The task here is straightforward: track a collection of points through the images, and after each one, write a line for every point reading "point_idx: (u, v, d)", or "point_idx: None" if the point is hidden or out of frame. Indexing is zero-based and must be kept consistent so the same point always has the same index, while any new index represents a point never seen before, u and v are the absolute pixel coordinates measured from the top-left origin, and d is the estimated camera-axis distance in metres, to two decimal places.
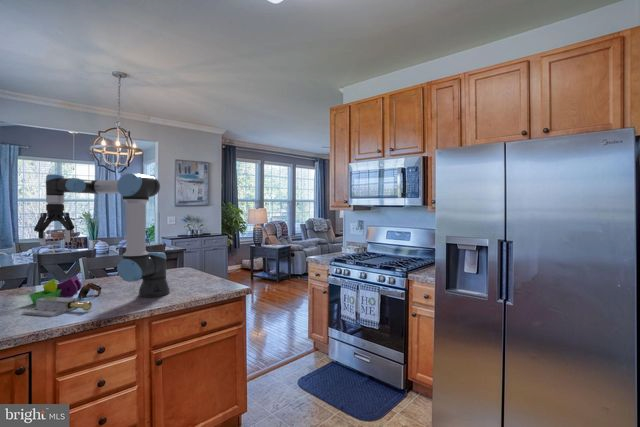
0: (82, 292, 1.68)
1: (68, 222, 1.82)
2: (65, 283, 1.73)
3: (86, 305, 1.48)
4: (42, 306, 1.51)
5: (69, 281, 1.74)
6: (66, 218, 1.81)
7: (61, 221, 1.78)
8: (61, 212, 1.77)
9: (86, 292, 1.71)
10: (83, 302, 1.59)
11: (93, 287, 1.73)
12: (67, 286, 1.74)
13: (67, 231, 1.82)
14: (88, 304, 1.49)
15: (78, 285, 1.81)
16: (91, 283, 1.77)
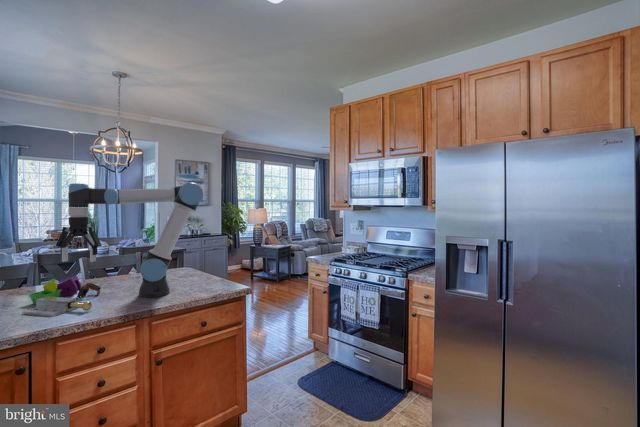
0: (81, 292, 1.68)
1: None
2: (65, 283, 1.73)
3: (86, 305, 1.48)
4: (42, 306, 1.51)
5: (69, 281, 1.74)
6: None
7: None
8: (82, 226, 1.53)
9: (85, 292, 1.71)
10: (83, 302, 1.59)
11: (92, 287, 1.73)
12: (67, 286, 1.74)
13: None
14: (88, 304, 1.49)
15: (78, 285, 1.81)
16: (90, 283, 1.78)
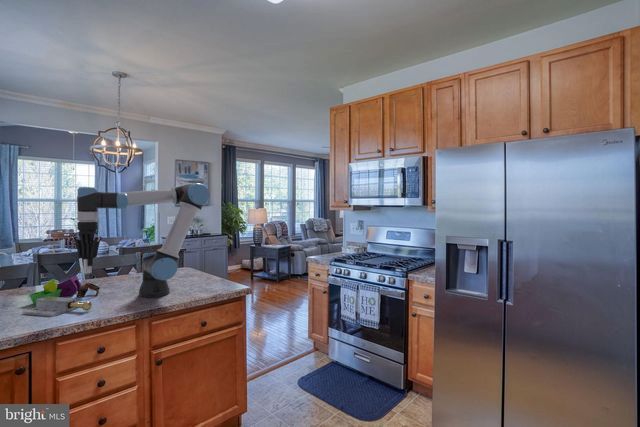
0: (80, 292, 1.68)
1: None
2: (65, 283, 1.73)
3: (86, 305, 1.48)
4: (42, 306, 1.51)
5: (69, 281, 1.74)
6: None
7: None
8: (91, 231, 1.47)
9: (84, 292, 1.71)
10: (83, 302, 1.59)
11: (91, 287, 1.73)
12: (67, 286, 1.74)
13: None
14: (88, 304, 1.49)
15: (78, 285, 1.81)
16: (89, 283, 1.78)
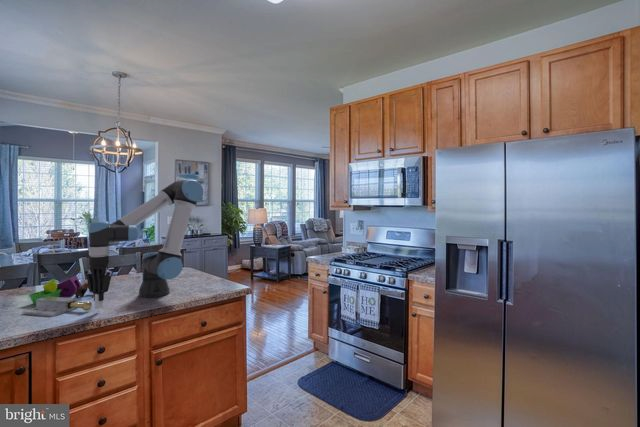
0: (79, 292, 1.68)
1: None
2: (64, 283, 1.73)
3: (86, 305, 1.48)
4: (42, 306, 1.51)
5: (68, 281, 1.74)
6: None
7: None
8: (103, 266, 1.46)
9: (83, 292, 1.71)
10: (83, 302, 1.59)
11: None
12: (66, 286, 1.73)
13: None
14: (88, 304, 1.49)
15: (78, 285, 1.81)
16: None
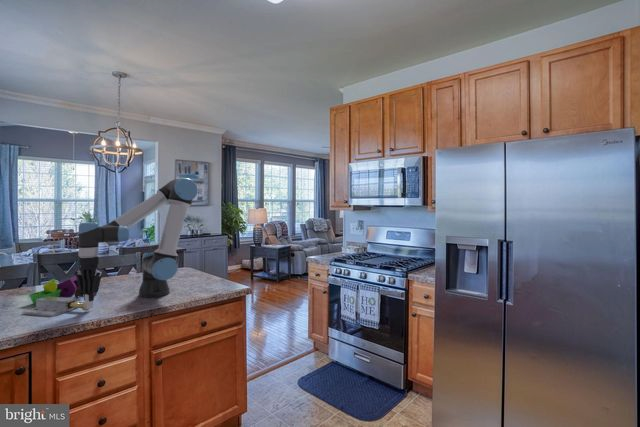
0: (79, 292, 1.69)
1: None
2: (64, 283, 1.73)
3: None
4: (42, 306, 1.51)
5: (68, 281, 1.73)
6: None
7: None
8: (93, 267, 1.47)
9: None
10: (83, 302, 1.59)
11: None
12: (66, 286, 1.73)
13: None
14: None
15: (77, 285, 1.81)
16: None
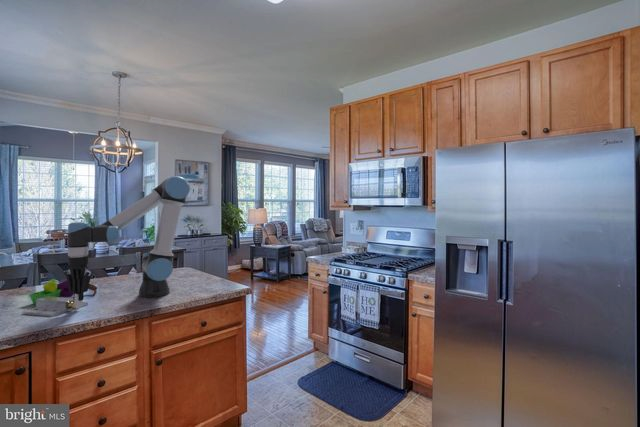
0: None
1: None
2: (64, 283, 1.73)
3: None
4: (42, 306, 1.51)
5: None
6: None
7: None
8: (82, 266, 1.48)
9: None
10: (83, 302, 1.59)
11: (89, 287, 1.74)
12: (66, 286, 1.73)
13: None
14: None
15: None
16: None
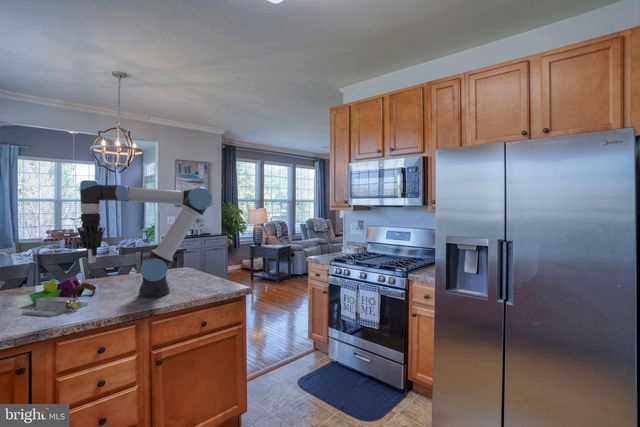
0: (77, 292, 1.69)
1: None
2: (63, 283, 1.73)
3: (75, 304, 1.49)
4: (42, 306, 1.51)
5: (67, 281, 1.73)
6: None
7: None
8: (95, 222, 1.54)
9: (81, 292, 1.71)
10: (83, 302, 1.59)
11: (88, 287, 1.74)
12: (65, 286, 1.73)
13: None
14: (77, 303, 1.50)
15: (77, 285, 1.81)
16: (85, 283, 1.78)
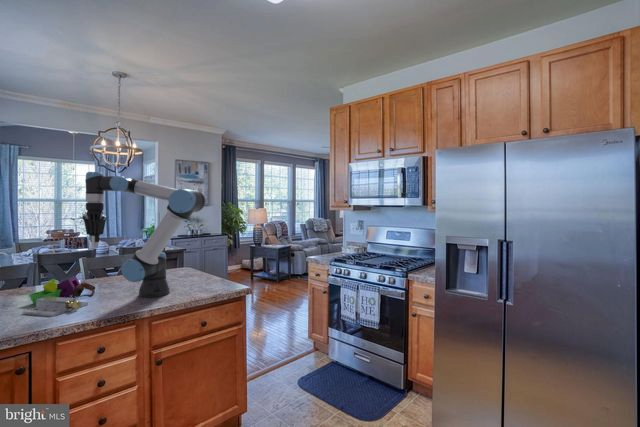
0: (76, 292, 1.69)
1: None
2: (62, 283, 1.73)
3: (75, 304, 1.49)
4: (42, 306, 1.51)
5: (66, 281, 1.73)
6: None
7: None
8: (98, 211, 1.66)
9: (80, 292, 1.71)
10: (83, 302, 1.59)
11: (87, 287, 1.74)
12: (64, 286, 1.73)
13: None
14: (77, 303, 1.50)
15: (76, 285, 1.80)
16: (85, 283, 1.78)
